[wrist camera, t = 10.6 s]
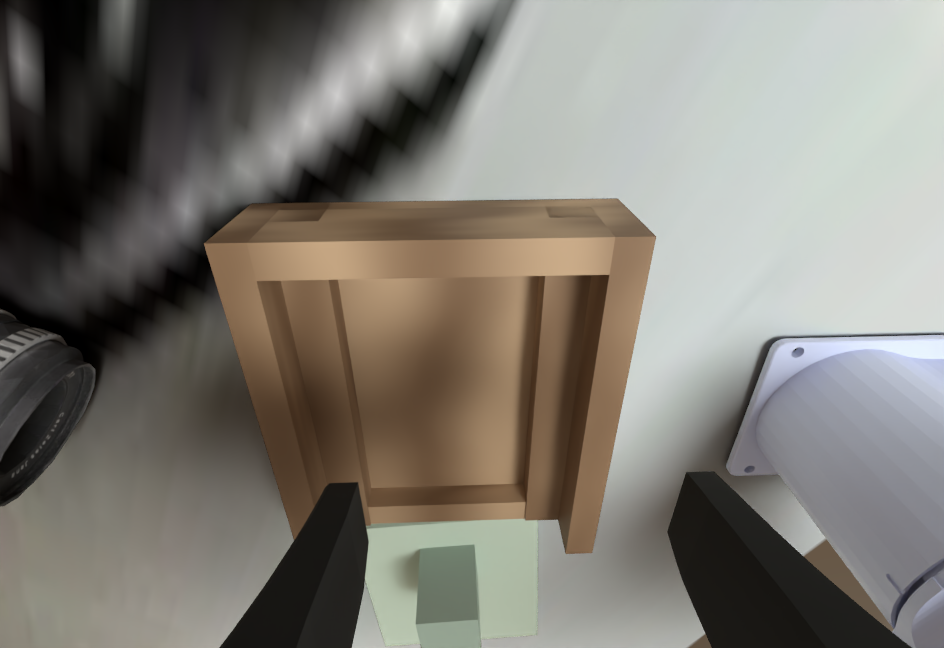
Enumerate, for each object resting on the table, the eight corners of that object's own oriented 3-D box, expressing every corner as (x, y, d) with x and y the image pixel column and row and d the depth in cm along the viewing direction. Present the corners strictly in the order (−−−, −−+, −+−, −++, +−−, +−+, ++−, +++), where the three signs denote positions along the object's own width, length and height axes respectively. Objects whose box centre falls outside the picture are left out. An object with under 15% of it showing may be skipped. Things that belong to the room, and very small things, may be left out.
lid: (535, 500, 26) (551, 590, 22) (535, 619, 33) (547, 707, 28) (353, 514, 26) (334, 606, 22) (387, 630, 33) (377, 720, 28)
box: (617, 198, 17) (656, 236, 14) (573, 485, 25) (592, 553, 22) (251, 203, 17) (204, 243, 14) (321, 493, 25) (301, 562, 21)
